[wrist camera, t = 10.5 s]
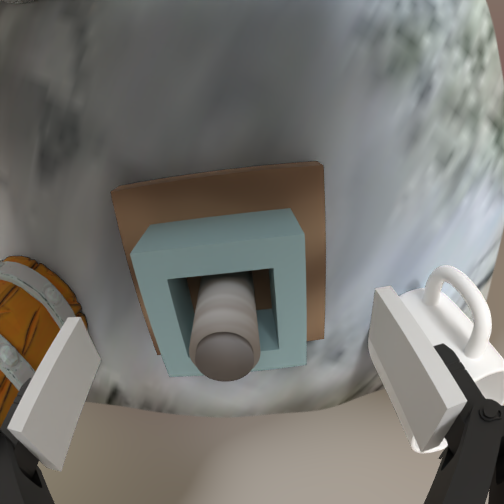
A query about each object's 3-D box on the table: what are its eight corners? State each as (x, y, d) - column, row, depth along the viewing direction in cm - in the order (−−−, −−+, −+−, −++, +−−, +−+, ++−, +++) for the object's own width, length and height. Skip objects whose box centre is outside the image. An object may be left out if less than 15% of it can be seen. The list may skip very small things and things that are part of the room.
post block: (119, 185, 18) (43, 243, 10) (316, 161, 18) (379, 202, 10) (160, 342, 23) (136, 438, 15) (319, 326, 23) (352, 422, 15)
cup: (360, 371, 26) (398, 466, 16) (372, 247, 21) (450, 341, 12) (438, 351, 26) (488, 428, 16) (464, 234, 21) (552, 302, 12)
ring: (150, 224, 18) (129, 253, 14) (290, 208, 18) (304, 234, 14) (178, 335, 21) (169, 377, 17) (295, 323, 21) (306, 364, 17)
